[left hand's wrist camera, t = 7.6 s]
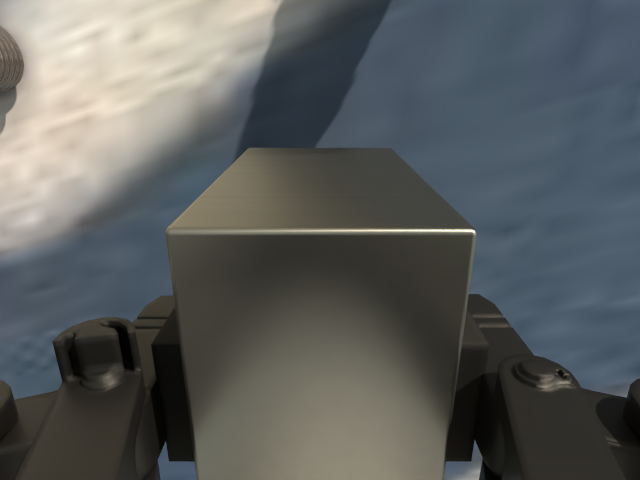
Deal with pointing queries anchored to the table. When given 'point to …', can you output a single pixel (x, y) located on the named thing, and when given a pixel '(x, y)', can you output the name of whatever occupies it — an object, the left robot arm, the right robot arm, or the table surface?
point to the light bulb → (9, 62)
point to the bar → (320, 317)
